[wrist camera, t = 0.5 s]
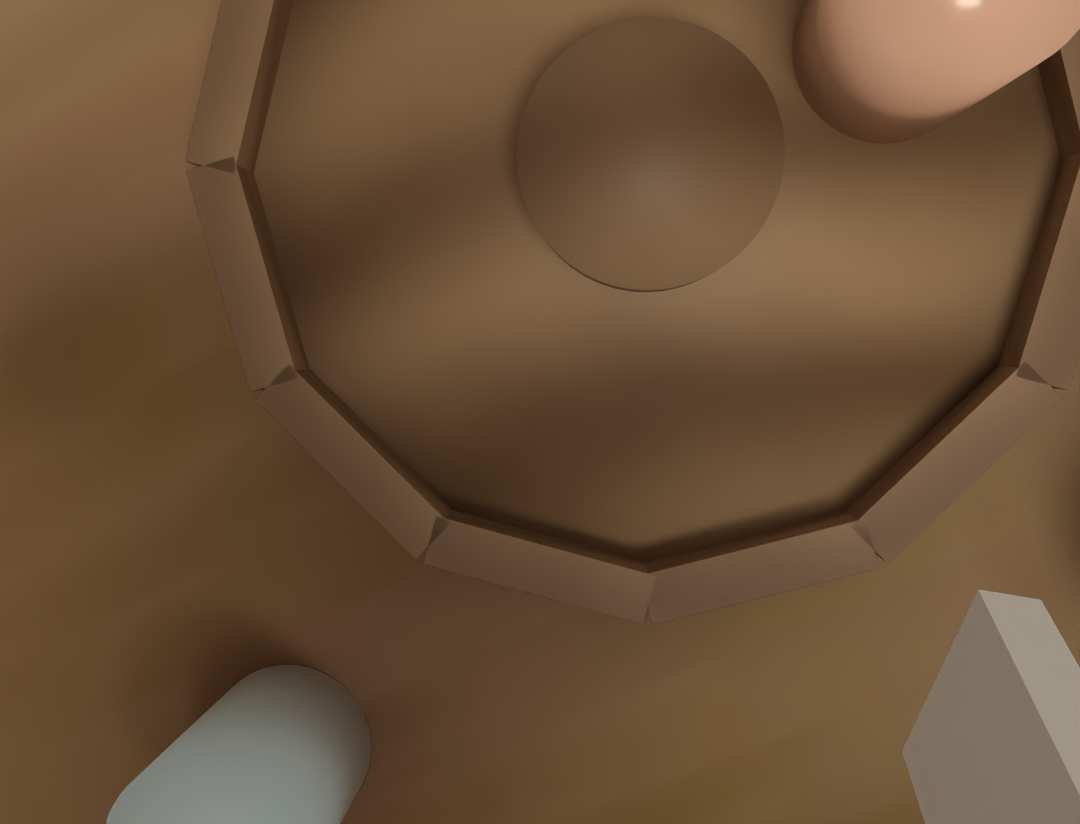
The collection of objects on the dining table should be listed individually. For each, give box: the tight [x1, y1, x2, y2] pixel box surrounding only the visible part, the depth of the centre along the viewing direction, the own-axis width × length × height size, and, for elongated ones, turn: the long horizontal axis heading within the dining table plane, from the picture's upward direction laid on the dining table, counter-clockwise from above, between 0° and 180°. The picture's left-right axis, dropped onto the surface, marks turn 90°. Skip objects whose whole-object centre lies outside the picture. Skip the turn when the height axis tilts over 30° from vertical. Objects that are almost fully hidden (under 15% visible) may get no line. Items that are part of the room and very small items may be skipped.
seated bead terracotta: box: [792, 0, 1080, 144], centre depth 21 cm, size 4×4×6 cm
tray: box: [186, 0, 1080, 624], centre depth 24 cm, size 21×21×3 cm
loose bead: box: [106, 665, 371, 824], centre depth 25 cm, size 4×4×6 cm
